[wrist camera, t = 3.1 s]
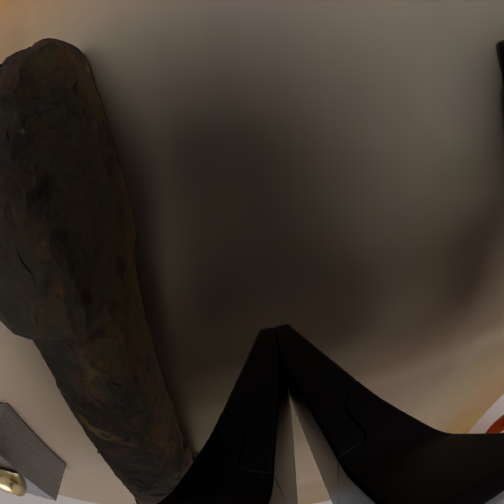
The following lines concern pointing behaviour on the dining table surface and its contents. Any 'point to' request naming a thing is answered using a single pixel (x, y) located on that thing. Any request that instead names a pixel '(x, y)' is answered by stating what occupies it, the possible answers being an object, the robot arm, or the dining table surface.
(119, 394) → the hand tool
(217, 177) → the dining table surface
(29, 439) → the end link
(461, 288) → the dining table surface
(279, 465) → the robot arm
